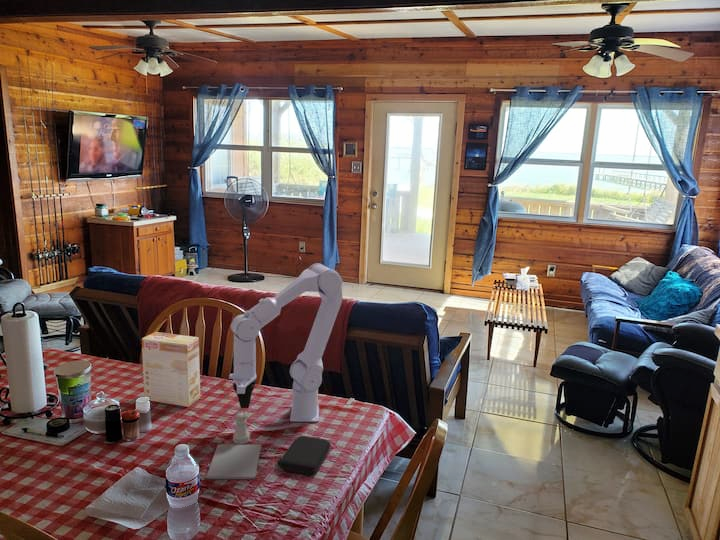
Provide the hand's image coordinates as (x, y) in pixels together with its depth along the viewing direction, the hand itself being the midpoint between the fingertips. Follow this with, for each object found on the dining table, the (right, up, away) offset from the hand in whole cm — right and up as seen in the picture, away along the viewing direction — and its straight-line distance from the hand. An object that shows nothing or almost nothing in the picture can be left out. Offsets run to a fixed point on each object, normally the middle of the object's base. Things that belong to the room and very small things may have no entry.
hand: (244, 407), depth 147 cm
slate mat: (+1, -10, -15) cm, 18 cm away
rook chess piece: (0, -8, -5) cm, 9 cm away
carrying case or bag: (+17, -10, -12) cm, 23 cm away
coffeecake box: (-25, -2, +17) cm, 30 cm away
